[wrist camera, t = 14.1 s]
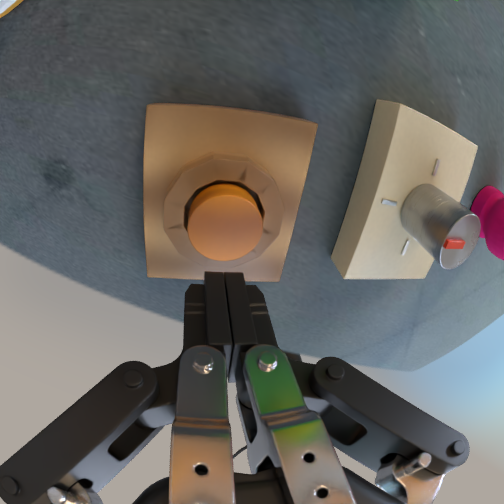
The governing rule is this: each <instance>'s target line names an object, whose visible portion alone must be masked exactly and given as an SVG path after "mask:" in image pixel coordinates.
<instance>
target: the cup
mask: <svg viewBox="0 0 504 504" xmlns="http://www.w3.org/2000/svg"><path fill="white" fill-rule="evenodd" d="M22 1H23V0H0V18H1V17H3V16H4V15H6V14H8V13H9V12H10V11H11V10H13V9H14V8H15V7H16V6H17V5H19V4H20V3H21V2H22Z"/></svg>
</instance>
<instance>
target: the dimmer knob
mask: <svg viewBox="0 0 504 504" xmlns="http://www.w3.org/2000/svg"><path fill="white" fill-rule="evenodd" d="M401 223H402V226H403V228H404V229H405V230H406V231H407V232H408V233H409V234H410V235H411V236H412V237H413V238H414V239H415V240H416V241H417V242H418V243H419V244H420V245H421V246H422V247H423V248H424V249H425V250H426V251H427V252H428V253H429V254H430V255H431V256H432V257H433V258H434V259H435V260H436V261H437V262H438V263H439V264H440V265H441V266H442V267H443V268H444V269H453V268H456V267H457V266H459V265H460V264H462V263H463V262H464V261H465V260H466V259H467V258H468V257H469V255H470V254H471V253H472V251H473V249H474V248H475V246H476V244H477V241H478V238H479V235H480V229H481V224H480V220H479V218H478V216H477V215H475V214H474V213H473V212H471V211H470V210H469V209H467V208H466V207H465V206H463V205H462V204H460V203H459V202H458V201H456V200H455V199H453V198H452V197H450V196H449V195H447V194H446V193H444V192H443V191H441V190H440V189H438V188H437V187H435V186H434V185H432V184H422V185H419V186H418V187H416V188H415V189H413V190H412V191H411V193H410V194H409V195H408V196H407V198H406V200H405V202H404V204H403V207H402V210H401Z"/></svg>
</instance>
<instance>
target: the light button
mask: <svg viewBox="0 0 504 504" xmlns="http://www.w3.org/2000/svg"><path fill="white" fill-rule="evenodd" d="M187 231H188V237H189V240H190V242H191V244H192V245H193V247H194V248H195V249H196V250H197V251H198V252H199V253H200V254H202V255H203V256H205V257H207V258H209V259H212V260H217V261H231V260H235V259H238V258H241V257H243V256H245V255H246V254H248V253H249V252H251V251H252V250H253V249H254V248H255V247H256V245H257V244H258V242H259V241H260V238H261V236H262V232H263V221H262V217H261V214H260V212H259V209H258V207H257V204H256V202H255V200H254V198H253V197H252V195H251V194H250V193H249V192H247V191H246V190H245V189H243V188H241V187H239V186H237V185H233V184H216V185H213V186H210V187H208V188H206V189H204V190H203V191H201V192H200V193H199V194H198V195H197V196H196V197H195V199H194V200H193V202H192V204H191V206H190V210H189V218H188V227H187Z"/></svg>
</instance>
